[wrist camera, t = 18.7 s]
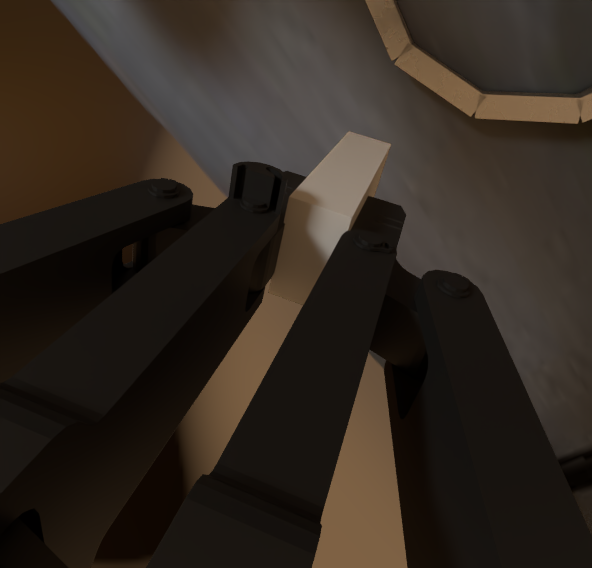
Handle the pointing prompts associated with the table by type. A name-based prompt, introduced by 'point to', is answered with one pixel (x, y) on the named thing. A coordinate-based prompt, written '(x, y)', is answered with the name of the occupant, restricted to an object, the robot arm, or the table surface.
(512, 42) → the table surface
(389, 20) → the indicator ring
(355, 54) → the table surface
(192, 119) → the table surface
